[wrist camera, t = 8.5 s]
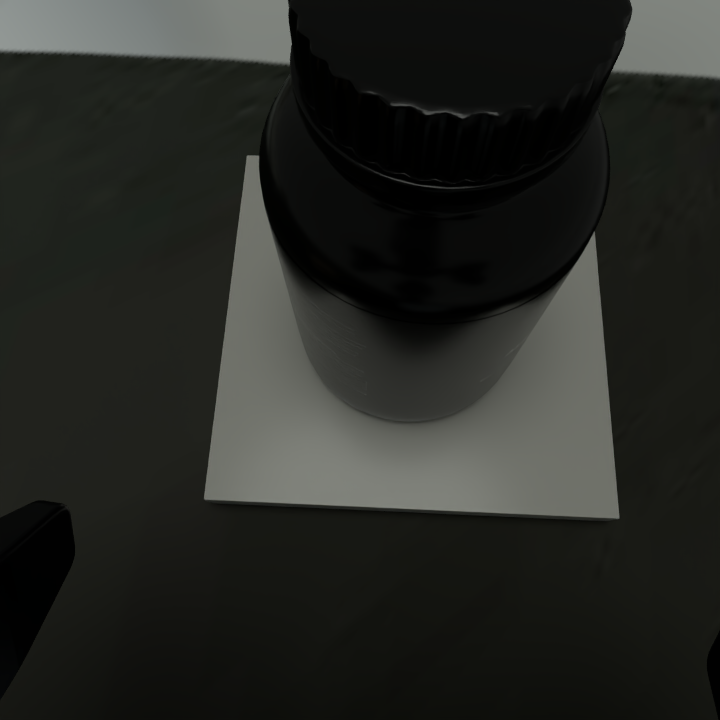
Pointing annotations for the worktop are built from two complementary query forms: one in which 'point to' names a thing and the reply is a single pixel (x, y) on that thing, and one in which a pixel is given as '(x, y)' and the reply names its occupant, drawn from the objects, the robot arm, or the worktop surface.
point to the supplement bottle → (434, 185)
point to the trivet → (400, 438)
